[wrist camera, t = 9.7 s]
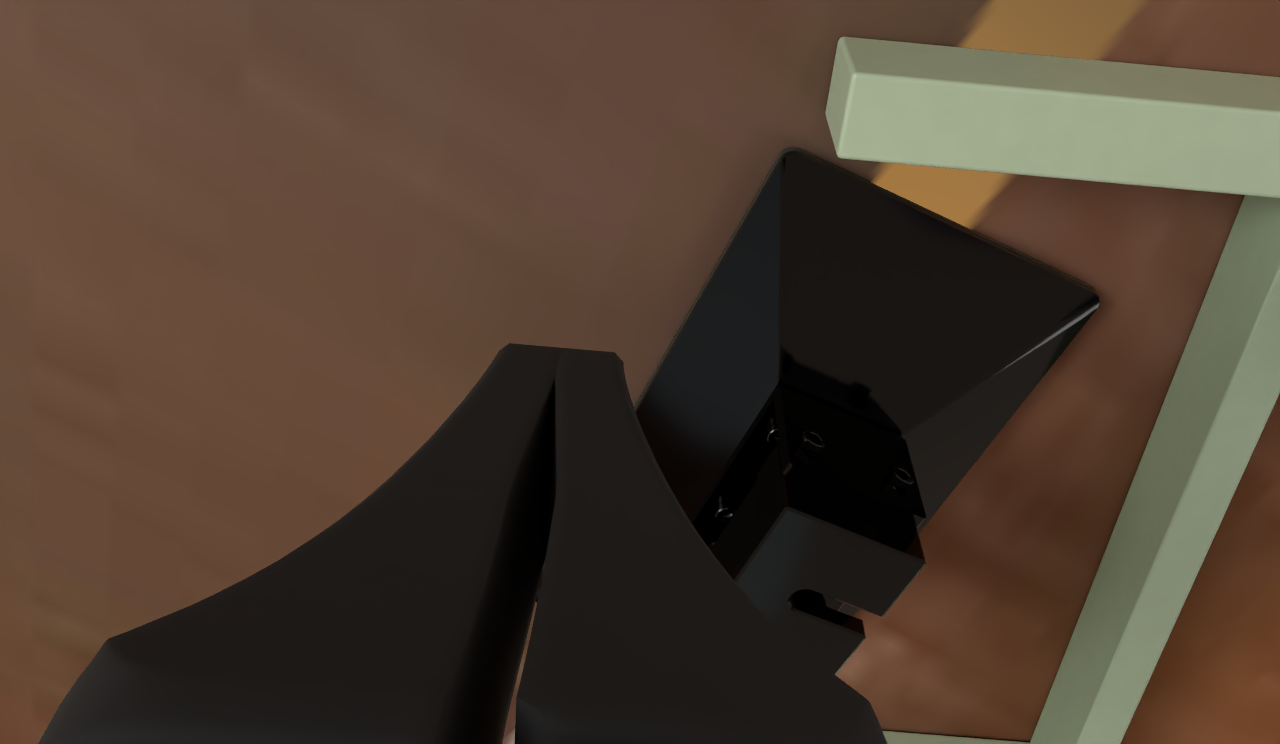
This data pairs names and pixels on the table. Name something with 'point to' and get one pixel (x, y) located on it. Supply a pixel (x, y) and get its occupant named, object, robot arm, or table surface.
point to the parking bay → (1218, 344)
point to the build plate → (844, 390)
